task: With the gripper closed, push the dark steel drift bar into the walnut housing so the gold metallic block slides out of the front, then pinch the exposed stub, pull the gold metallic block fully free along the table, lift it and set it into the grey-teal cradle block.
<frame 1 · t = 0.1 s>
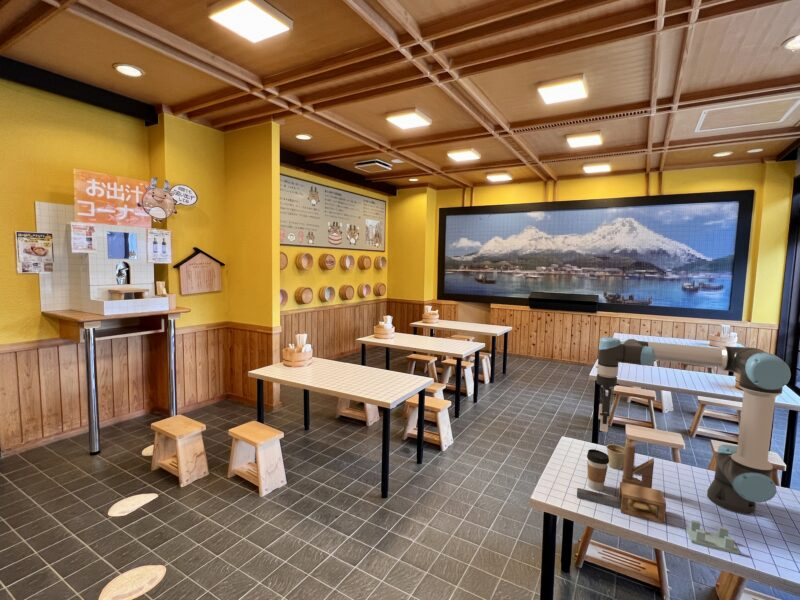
hand: (602, 425, 166), 28 cm above the table, fingers open, 13 cm apart
flower pot: (615, 466, 188), on the table
gold metallic block: (640, 505, 154), point 2 cm above the table
cradle: (710, 541, 138), on the table
wooden bracket: (636, 488, 170), on the table
drift bar: (599, 502, 159), on the table
coffee cup: (595, 487, 170), on the table
housing: (640, 510, 154), on the table
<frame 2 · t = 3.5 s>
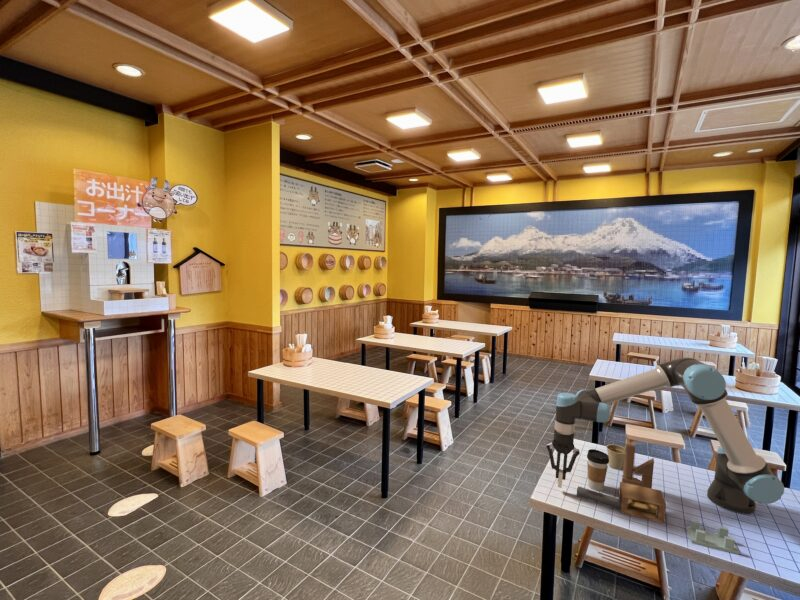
hand: (559, 485, 165), 3 cm above the table, fingers closed
gold metallic block: (640, 504, 154), point 2 cm above the table, tilted 9°
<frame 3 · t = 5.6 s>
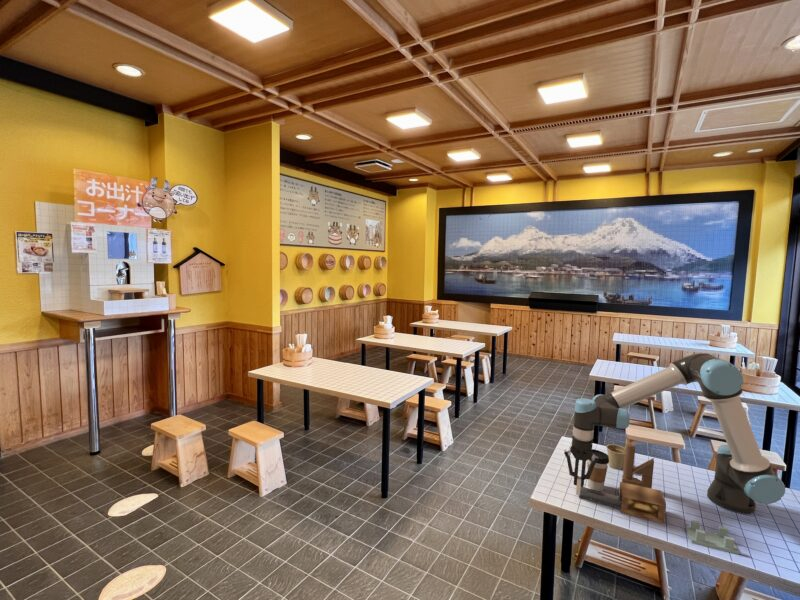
hand: (577, 492, 162), 1 cm above the table, fingers closed
gold metallic block: (642, 505, 153), point 2 cm above the table, tilted 12°, touching drift bar
drift bar: (602, 501, 159), on the table, touching gold metallic block, gripper
everything else where it was.
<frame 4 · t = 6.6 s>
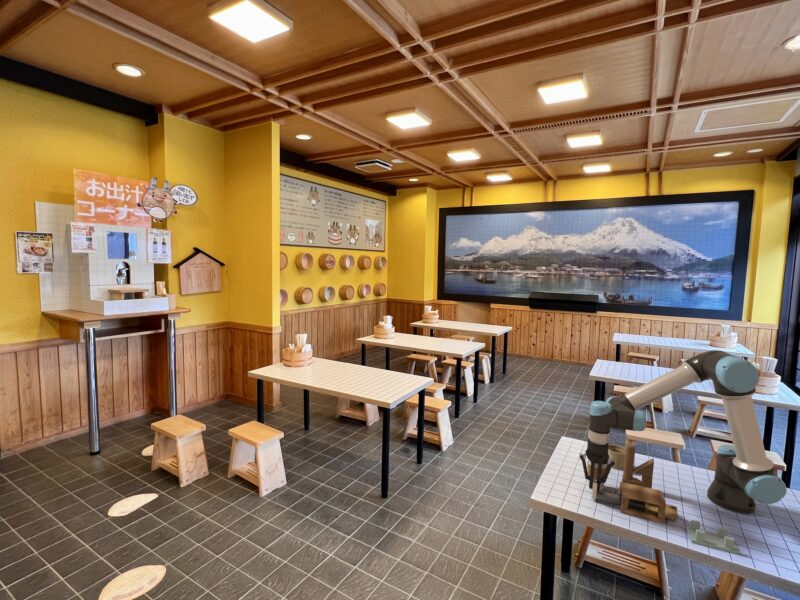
hand: (593, 496, 160), 1 cm above the table, fingers closed
gold metallic block: (660, 509, 151), point 2 cm above the table, tilted 11°, touching drift bar
drift bar: (619, 504, 157), on the table, touching gold metallic block, gripper
everything else where it was.
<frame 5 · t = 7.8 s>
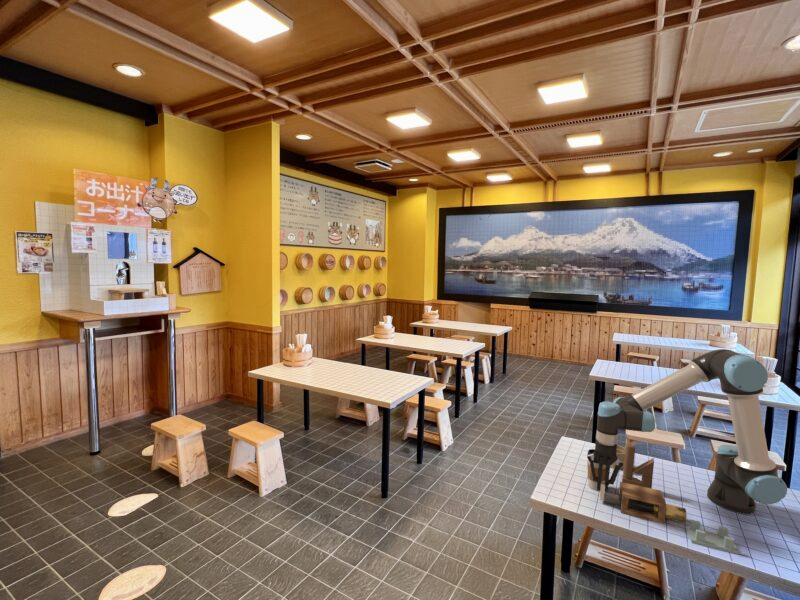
hand: (601, 498, 159), 1 cm above the table, fingers closed
gold metallic block: (668, 511, 150), point 2 cm above the table, tilted 11°, touching drift bar
drift bar: (627, 507, 156), on the table, touching gold metallic block, gripper
everything else where it was.
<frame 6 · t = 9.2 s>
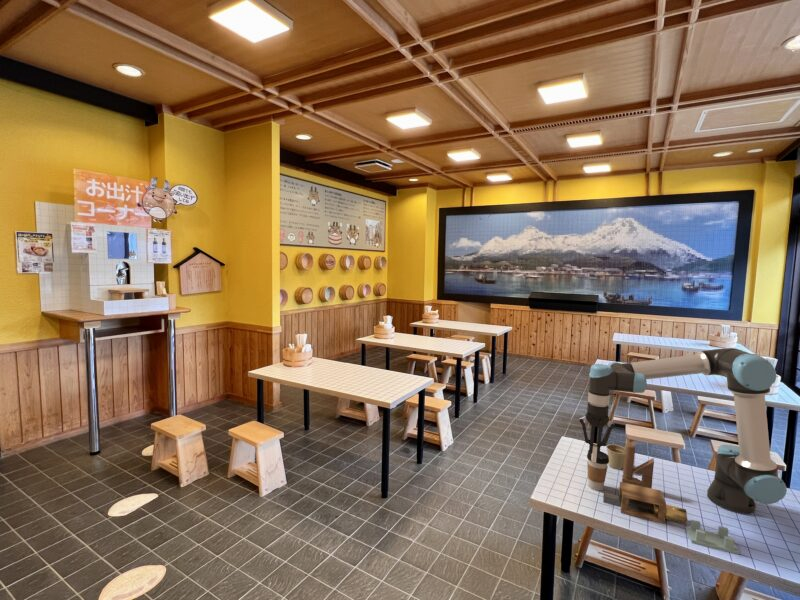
hand: (593, 460, 159), 16 cm above the table, fingers closed
gold metallic block: (669, 512, 150), point 2 cm above the table, tilted 25°
drift bar: (627, 507, 156), on the table
everything else where it was.
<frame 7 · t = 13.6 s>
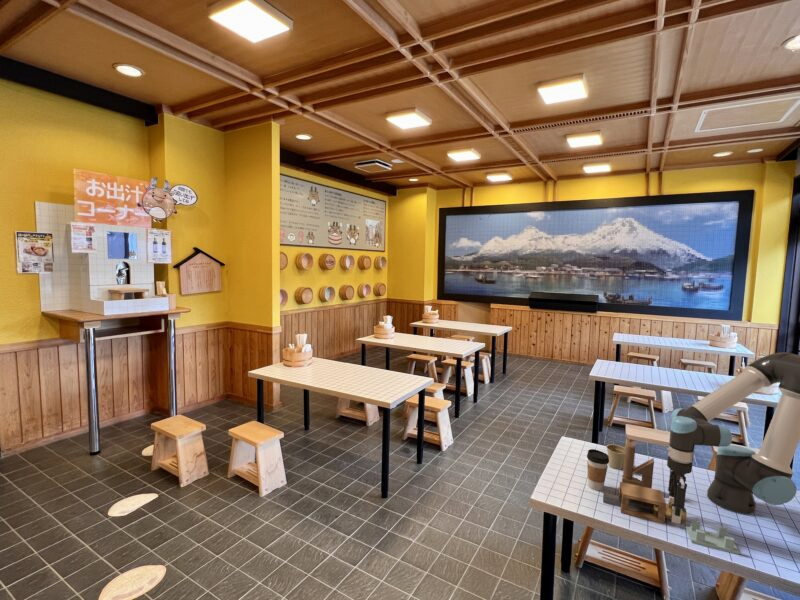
hand: (673, 517, 150), 0 cm above the table, fingers closed on gold metallic block, 5 cm apart
gold metallic block: (668, 511, 150), point 2 cm above the table, tilted 10°, touching gripper
everything else where it was.
when the fingers open (4 cm above the table, at t = 19.2 s): gold metallic block drops 1 cm, resting on cradle.
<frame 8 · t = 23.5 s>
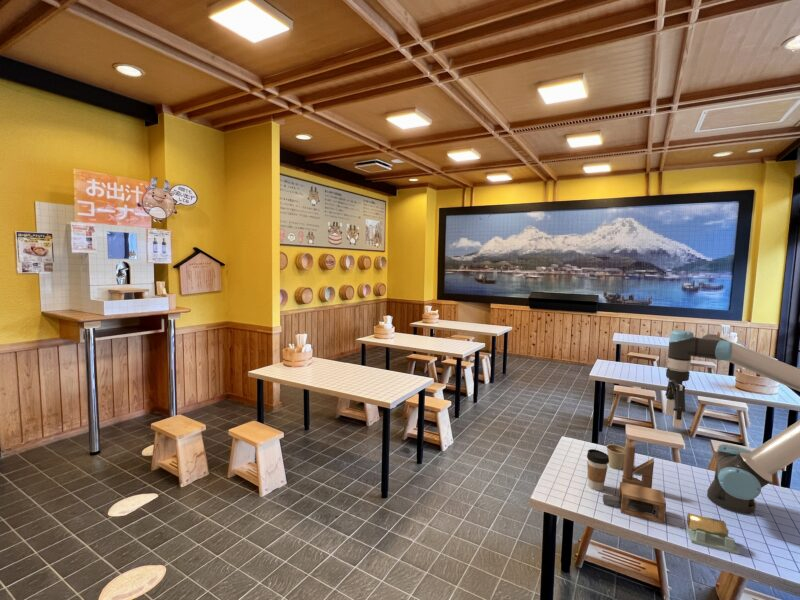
hand: (672, 420, 160), 33 cm above the table, fingers open, 13 cm apart
gold metallic block: (706, 525, 138), point 5 cm above the table, tilted 13°, touching cradle
at the end: gold metallic block 1.8 cm off-centre on the cradle, point 5.4 cm above the cradle's base; gold metallic block touching cradle; the gripper is holding nothing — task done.
